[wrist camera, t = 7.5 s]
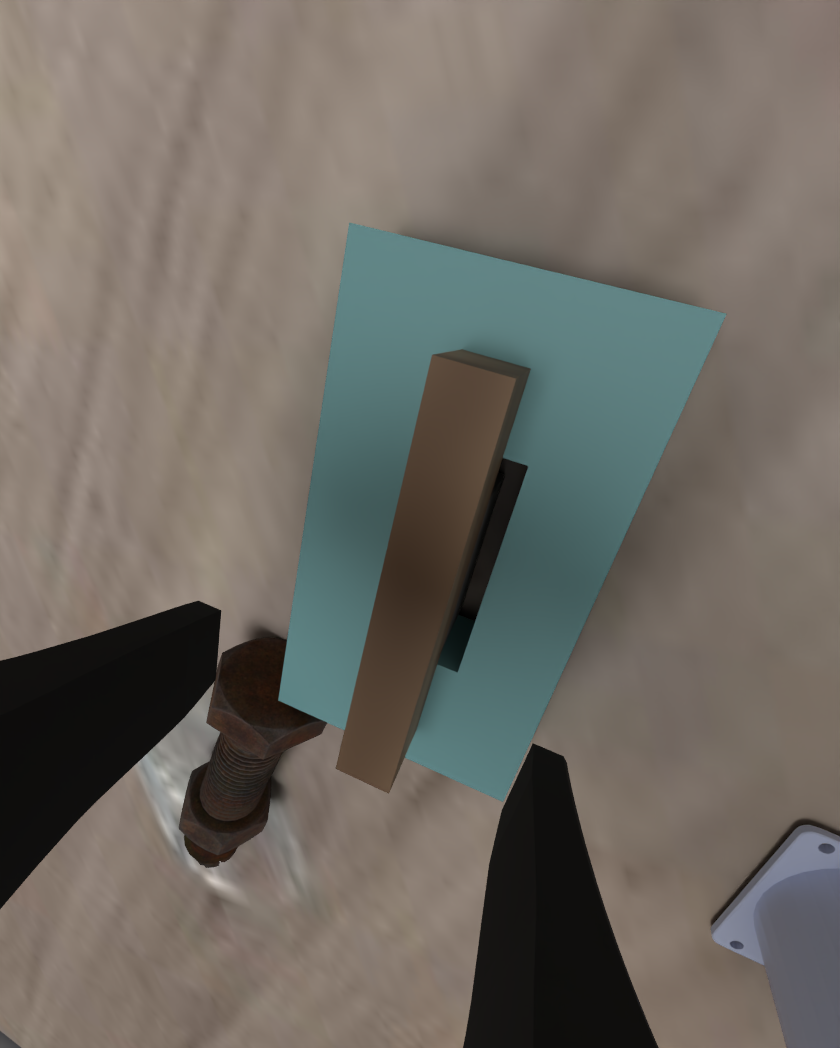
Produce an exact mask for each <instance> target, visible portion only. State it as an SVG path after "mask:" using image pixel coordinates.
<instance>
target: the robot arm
mask: <svg viewBox="0 0 840 1048" xmlns="http://www.w3.org/2000/svg"><path fill="white" fill-rule="evenodd" d="M220 619H221V610H219V609H217V608H214V607H212V606H209V605H207V604H205V603H202V602H200V601H196V602H192V603H189V604H185V605H182V606H179V607H176V608H173V609H170V610H167V611H164V612H161V613H158V614H155V615H152V616H149V617H146V618H143V619H140V620H137V621H134V622H131V623H128V624H125V625H122V626H119V627H116V628H113V629H110V630H107V631H103V632H100V633H97V634H94V635H91V636H88V637H84V638H81V639H78V640H74V641H71V642H67V643H64V644H60V645H57V646H54V647H50V648H47V649H43V650H40V651H36V652H33V653H29V654H25V655H22V656H18V657H14V658H10V659H6V660H2V661H0V909H1V908H2V906H3V905H4V904H5V903H6V902H7V901H8V899H9V898H10V897H11V896H12V895H13V893H14V892H15V891H16V890H17V889H18V888H19V886H20V885H21V884H22V883H23V882H24V881H25V879H26V878H27V877H28V876H29V875H30V874H31V872H32V871H33V870H34V869H35V868H36V867H37V865H38V864H39V863H40V862H41V861H42V860H43V859H44V858H45V856H46V855H47V854H48V853H49V852H50V851H51V850H52V849H53V847H54V846H55V845H56V844H57V843H58V842H59V841H60V840H61V838H62V837H63V836H64V835H65V834H66V833H67V832H68V831H69V830H70V828H71V827H72V826H73V825H74V824H75V823H76V822H77V821H78V820H79V819H80V818H81V817H82V816H83V815H84V813H85V812H86V811H87V810H88V809H89V808H90V807H91V806H92V805H93V804H94V803H95V802H96V801H97V800H98V799H99V798H100V797H102V796H103V795H104V794H105V793H106V792H107V791H108V790H109V789H110V788H111V787H112V786H113V785H114V784H115V783H116V782H117V781H118V780H119V779H121V778H122V777H123V776H124V775H125V774H126V773H127V772H128V771H129V770H130V769H131V768H132V767H133V766H134V765H135V764H136V763H137V762H139V761H140V760H141V759H142V758H143V757H144V756H145V755H146V754H147V753H148V752H149V751H150V750H151V749H152V748H153V747H154V746H155V745H156V744H158V743H159V742H160V741H161V740H162V739H163V738H164V737H165V736H166V735H167V734H168V733H169V732H170V731H171V730H172V729H173V728H174V727H175V726H176V725H177V724H178V723H179V722H180V721H181V720H182V719H183V718H184V717H185V716H186V715H187V714H188V713H189V712H190V710H191V709H192V708H193V707H194V706H195V704H196V703H197V702H198V701H199V700H200V699H201V697H202V696H203V695H204V694H205V692H206V691H207V690H208V689H209V687H210V686H211V685H212V684H213V682H214V681H215V680H216V670H217V657H218V645H219V632H220ZM824 843H827V844H824ZM711 933H712V938H713V940H714V941H715V942H716V943H718V944H719V945H721V946H723V947H726V948H728V949H730V950H732V951H734V952H736V953H738V954H741V955H743V956H745V957H747V958H749V959H751V960H753V961H755V962H758V963H760V964H762V965H764V966H765V969H766V973H767V976H768V980H769V984H770V987H771V991H772V995H773V999H774V1002H775V1006H776V1010H777V1013H778V1017H779V1021H780V1025H781V1028H782V1032H783V1036H784V1039H785V1043H786V1047H787V1048H840V836H838V835H836V834H833V833H831V832H828V831H826V830H823V829H821V828H818V827H816V826H812V825H802V826H799V827H798V828H796V829H795V830H794V831H793V832H792V834H791V835H790V836H789V837H788V838H787V839H786V841H785V842H784V843H783V844H782V845H781V846H780V847H779V849H778V850H777V851H776V852H775V853H774V854H773V856H772V857H771V858H770V859H769V860H768V861H767V862H766V864H765V865H764V866H763V867H762V868H761V869H760V871H759V872H758V873H757V874H756V875H755V876H754V878H753V879H752V880H751V881H750V882H749V883H748V884H747V886H746V887H745V888H744V889H743V890H742V891H741V893H740V894H739V895H738V896H737V897H736V898H735V899H734V901H733V902H732V903H731V904H730V905H729V906H728V908H727V909H726V910H725V911H724V912H723V913H722V915H721V916H720V917H719V918H718V919H717V920H716V921H715V923H714V924H713V925H712V926H711ZM463 1048H658V1045H657V1043H656V1041H655V1039H654V1036H653V1034H652V1032H651V1029H650V1027H649V1025H648V1022H647V1020H646V1017H645V1015H644V1012H643V1010H642V1007H641V1005H640V1002H639V1000H638V997H637V995H636V992H635V990H634V987H633V985H632V982H631V980H630V977H629V974H628V972H627V969H626V967H625V964H624V961H623V958H622V956H621V953H620V950H619V948H618V945H617V942H616V939H615V936H614V933H613V930H612V928H611V925H610V922H609V919H608V916H607V913H606V910H605V907H604V904H603V901H602V898H601V895H600V891H599V888H598V885H597V882H596V878H595V875H594V872H593V868H592V865H591V861H590V858H589V855H588V851H587V848H586V844H585V841H584V837H583V833H582V829H581V825H580V821H579V817H578V813H577V809H576V805H575V801H574V797H573V792H572V788H571V783H570V778H569V773H568V768H567V763H566V761H565V759H564V757H563V756H561V755H559V754H557V753H554V752H552V751H550V750H547V749H545V748H543V747H540V746H538V745H536V744H532V747H531V749H530V751H529V753H528V755H527V757H526V760H525V762H524V764H523V766H522V768H521V770H520V772H519V775H518V777H517V779H516V781H515V783H514V785H513V788H512V790H511V792H510V794H509V796H508V798H507V800H506V803H505V805H504V807H503V809H502V812H501V816H500V820H499V825H498V829H497V833H496V837H495V841H494V846H493V850H492V854H491V859H490V863H489V870H488V877H487V885H486V892H485V900H484V907H483V915H482V923H481V930H480V938H479V946H478V954H477V961H476V969H475V977H474V984H473V992H472V1000H471V1006H470V1012H469V1018H468V1024H467V1030H466V1036H465V1041H464V1046H463Z"/></svg>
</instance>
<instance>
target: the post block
mask: <svg viewBox="0 0 840 1048" xmlns="http://www.w3.org/2000/svg"><path fill="white" fill-rule="evenodd" d="M725 316H726V314H725V313H721V312H717V311H713V310H709V309H705V308H700V307H696V306H692V305H688V304H684V303H680V302H676V301H672V300H667V299H663V298H659V297H655V296H651V295H647V294H643V293H638V292H634V291H630V290H626V289H622V288H618V287H614V286H610V285H605V284H601V283H597V282H593V281H589V280H585V279H581V278H576V277H572V276H568V275H564V274H560V273H556V272H552V271H547V270H543V269H539V268H535V267H531V266H527V265H523V264H519V263H514V262H510V261H506V260H502V259H498V258H494V257H490V256H485V255H481V254H477V253H473V252H469V251H465V250H461V249H457V248H452V247H448V246H444V245H440V244H436V243H432V242H428V241H423V240H419V239H415V238H411V237H407V236H403V235H399V234H394V233H390V232H386V231H382V230H378V229H374V228H370V227H366V226H361V225H357V224H353V223H349V229H348V235H347V242H346V249H345V256H344V262H343V269H342V276H341V282H340V289H339V296H338V303H337V309H336V316H335V323H334V329H333V336H332V343H331V350H330V356H329V363H328V370H327V376H326V383H325V390H324V397H323V403H322V410H321V417H320V423H319V430H318V437H317V444H316V450H315V457H314V464H313V470H312V477H311V484H310V491H309V497H308V504H307V511H306V517H305V524H304V531H303V537H302V544H301V551H300V558H299V564H298V571H297V578H296V584H295V591H294V598H293V605H292V611H291V618H290V625H289V631H288V638H287V645H286V652H285V658H284V665H283V672H282V678H281V685H280V692H279V699H278V701H281V702H283V703H285V704H287V705H290V706H292V707H294V708H296V709H298V710H301V711H303V712H305V713H307V714H309V715H312V716H314V717H316V718H318V719H321V720H323V721H325V722H327V723H329V724H332V725H334V726H336V727H338V728H340V729H343V730H345V727H346V722H347V718H348V714H349V710H350V705H351V701H352V697H353V692H354V688H355V684H356V679H357V675H358V671H359V667H360V662H361V658H362V654H363V649H364V645H365V641H366V636H367V632H368V628H369V624H370V619H371V615H372V611H373V606H374V602H375V598H376V593H377V589H378V585H379V581H380V576H381V572H382V568H383V563H384V559H385V555H386V550H387V546H388V542H389V537H390V533H391V529H392V525H393V520H394V516H395V512H396V507H397V503H398V499H399V494H400V490H401V486H402V482H403V477H404V473H405V469H406V464H407V460H408V456H409V451H410V447H411V443H412V439H413V434H414V430H415V426H416V421H417V417H418V413H419V408H420V404H421V400H422V395H423V391H424V387H425V383H426V378H427V374H428V370H429V365H430V361H431V357H432V355H433V354H439V353H444V352H450V351H455V350H461V349H463V350H466V351H470V352H473V353H477V354H481V355H484V356H488V357H491V358H495V359H498V360H502V361H505V362H509V363H513V364H516V365H520V366H523V367H527V368H530V369H531V370H530V373H529V376H528V380H527V383H526V386H525V389H524V392H523V395H522V398H521V402H520V405H519V408H518V411H517V414H516V417H515V421H514V424H513V427H512V430H511V433H510V436H509V439H508V443H507V446H506V449H505V452H504V455H503V458H505V459H508V460H511V461H514V462H517V463H520V464H523V465H527V466H528V469H527V472H526V475H525V478H524V481H523V484H522V486H521V489H520V492H519V495H518V498H517V501H516V504H515V507H514V510H513V513H512V516H511V519H510V521H509V524H508V527H507V530H506V533H505V536H504V539H503V542H502V545H501V548H500V551H499V554H498V556H497V559H496V562H495V565H494V568H493V571H492V574H491V577H490V580H489V583H488V586H487V589H486V592H485V594H484V597H483V600H482V603H481V606H480V609H479V612H478V615H477V618H476V621H474V620H471V619H468V618H466V617H463V616H461V615H458V617H457V619H456V621H455V623H454V625H453V627H452V629H451V632H450V634H449V636H448V638H447V640H446V642H445V645H444V647H443V649H442V651H441V654H440V657H439V660H438V664H437V667H436V670H435V673H434V676H433V679H432V682H431V686H430V689H429V692H428V695H427V698H426V701H425V705H424V708H423V711H422V714H421V717H420V720H419V723H418V727H417V730H416V732H415V735H414V737H413V739H412V741H411V744H410V746H409V748H408V751H407V753H406V755H405V758H407V759H409V760H411V761H414V762H416V763H418V764H420V765H422V766H425V767H427V768H429V769H431V770H434V771H436V772H438V773H440V774H442V775H445V776H447V777H449V778H451V779H453V780H456V781H458V782H460V783H462V784H465V785H467V786H469V787H471V788H473V789H476V790H478V791H480V792H482V793H485V794H487V795H489V796H491V797H493V798H496V799H498V800H500V801H502V802H503V801H504V799H505V797H506V794H507V792H508V790H509V788H510V786H511V783H512V781H513V779H514V777H515V775H516V773H517V770H518V768H519V766H520V764H521V762H522V759H523V757H524V755H525V753H526V751H527V748H528V746H529V744H530V742H531V740H532V738H533V735H534V733H535V731H536V729H537V727H538V724H539V722H540V720H541V718H542V716H543V714H544V711H545V709H546V707H547V705H548V703H549V700H550V698H551V696H552V694H553V692H554V690H555V687H556V685H557V683H558V681H559V679H560V676H561V674H562V672H563V670H564V668H565V666H566V663H567V661H568V659H569V657H570V655H571V652H572V650H573V648H574V646H575V644H576V642H577V639H578V637H579V635H580V633H581V631H582V628H583V626H584V624H585V622H586V620H587V617H588V615H589V613H590V611H591V609H592V607H593V604H594V602H595V600H596V598H597V596H598V593H599V591H600V589H601V587H602V585H603V583H604V580H605V578H606V576H607V574H608V572H609V569H610V567H611V565H612V563H613V561H614V559H615V556H616V554H617V552H618V550H619V548H620V545H621V543H622V541H623V539H624V537H625V535H626V532H627V530H628V528H629V526H630V524H631V521H632V519H633V517H634V515H635V513H636V511H637V508H638V506H639V504H640V502H641V500H642V497H643V495H644V493H645V491H646V489H647V486H648V484H649V482H650V480H651V478H652V476H653V473H654V471H655V469H656V467H657V465H658V462H659V460H660V458H661V456H662V454H663V452H664V449H665V447H666V445H667V443H668V441H669V438H670V436H671V434H672V432H673V430H674V428H675V425H676V423H677V421H678V419H679V417H680V414H681V412H682V410H683V408H684V406H685V404H686V401H687V399H688V397H689V395H690V393H691V390H692V388H693V386H694V384H695V382H696V380H697V377H698V375H699V373H700V371H701V369H702V366H703V364H704V362H705V360H706V358H707V355H708V353H709V351H710V349H711V347H712V345H713V342H714V340H715V338H716V336H717V334H718V331H719V329H720V327H721V325H722V323H723V321H724V318H725Z"/></svg>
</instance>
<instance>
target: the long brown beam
mask: <svg viewBox="0 0 840 1048" xmlns="http://www.w3.org/2000/svg"><path fill="white" fill-rule="evenodd" d="M530 370H531V369H530V368H527V367H523V366H520V365H516V364H513V363H509V362H505V361H502V360H498V359H495V358H491V357H488V356H484V355H481V354H477V353H473V352H470V351H466V350H463V349H461V350H455V351H450V352H444V353H439V354H433V355H432V357H431V361H430V365H429V370H428V374H427V378H426V383H425V387H424V391H423V395H422V400H421V404H420V408H419V413H418V417H417V421H416V426H415V430H414V434H413V439H412V443H411V447H410V451H409V456H408V460H407V464H406V469H405V473H404V477H403V482H402V486H401V490H400V494H399V499H398V503H397V507H396V512H395V516H394V520H393V525H392V529H391V533H390V537H389V542H388V546H387V550H386V555H385V559H384V563H383V568H382V572H381V576H380V581H379V585H378V589H377V593H376V598H375V602H374V606H373V611H372V615H371V619H370V624H369V628H368V632H367V636H366V641H365V645H364V649H363V654H362V658H361V662H360V667H359V671H358V675H357V679H356V684H355V688H354V692H353V697H352V701H351V705H350V710H349V714H348V718H347V722H346V727H345V731H344V735H343V740H342V744H341V748H340V753H339V757H338V761H337V766H336V769H337V770H340V771H342V772H344V773H346V774H348V775H350V776H352V777H355V778H357V779H359V780H361V781H363V782H365V783H367V784H369V785H372V786H374V787H376V788H378V789H380V790H382V791H384V792H387V793H389V792H390V790H391V787H392V785H393V783H394V781H395V778H396V776H397V774H398V771H399V769H400V767H401V764H402V762H403V760H404V758H405V755H406V753H407V751H408V748H409V746H410V744H411V741H412V739H413V737H414V735H415V732H416V730H417V727H418V723H419V720H420V717H421V714H422V711H423V708H424V705H425V701H426V698H427V695H428V692H429V689H430V686H431V682H432V679H433V676H434V673H435V670H436V667H437V664H438V660H439V657H440V654H441V651H442V649H443V647H444V645H445V642H446V640H447V638H448V636H449V634H450V632H451V629H452V627H453V625H454V623H455V621H456V619H457V617H458V614H459V612H460V610H461V607H462V604H463V601H464V598H465V595H466V592H467V589H468V586H469V583H470V579H471V576H472V573H473V570H474V567H475V564H476V561H477V558H478V555H479V552H480V549H481V545H482V542H483V539H484V536H485V533H486V530H487V527H488V524H489V521H490V518H491V514H492V511H493V508H494V505H495V502H496V499H497V496H498V493H499V490H500V487H501V484H502V480H503V477H504V474H501V473H498V471H499V468H500V465H501V462H502V458H503V455H504V452H505V449H506V446H507V443H508V439H509V436H510V433H511V430H512V427H513V424H514V421H515V417H516V414H517V411H518V408H519V405H520V402H521V398H522V395H523V392H524V389H525V386H526V383H527V380H528V376H529V373H530Z"/></svg>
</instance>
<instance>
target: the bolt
mask: <svg viewBox="0 0 840 1048" xmlns="http://www.w3.org/2000/svg"><path fill="white" fill-rule="evenodd" d="M286 645H287V641H285V640H281V639H278V638H270V637H268V638H260V639H255V640H251V641H247V642H245V643H242V644H240V645H237V646H235V647H233V648H231V649H229V650H227V651H225V652H223V653H222V655H221V659H220V662H219V665H218V668H217V672H216V680H215V682H214V687H213V692H212V697H211V702H210V707H209V712H208V717H207V722H206V723H207V724H209V725H210V726H212V727H214V728H215V729H217V730H218V731H220V735H219V737H218V740H217V742H216V745H215V747H214V750H213V753H212V757H211V759H210V761H209V762H207V763H205V764H203V765H202V766H200V767H198V768H197V769H195V770H193V771H192V773H191V776H190V779H189V782H188V786H187V790H186V795H185V799H184V804H183V808H182V813H181V818H180V824H179V829H180V830H181V831H182V832H183V833H184V834H185V835H184V841H185V846H186V848H187V850H188V852H189V854H190V855H191V856H192V857H194V858H195V859H196V860H197V861H198V862H199V864H200V865H204V866H205V867H206V868H209V867H216V866H219V863H220V862H219V861H221V862H226V861H227V860H229V859H230V858H231V856H232V855H233V854H234V853H235V851H236V849H237V847H238V846H240V845H241V844H243V843H245V842H246V841H248V840H250V839H251V838H253V837H254V836H256V835H257V834H259V833H260V832H262V830H263V829H264V827H265V825H266V823H267V820H268V813H269V806H270V797H271V778H270V777H271V775H272V773H273V771H274V769H275V766H276V764H277V762H278V760H279V758H280V756H281V754H282V752H283V751H284V750H287V749H289V748H291V747H293V746H296V745H298V744H300V743H302V742H305V741H307V740H309V739H311V738H314V737H316V736H318V735H320V734H322V732H323V730H324V728H325V726H326V724H327V722H325V721H323V720H321V719H318V718H316V717H314V716H312V715H309V714H307V713H305V712H303V711H301V710H298V709H296V708H294V707H292V706H290V705H287V704H285V703H283V702H281V701H278V699H279V692H280V685H281V678H282V672H283V665H284V658H285V652H286Z"/></svg>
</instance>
